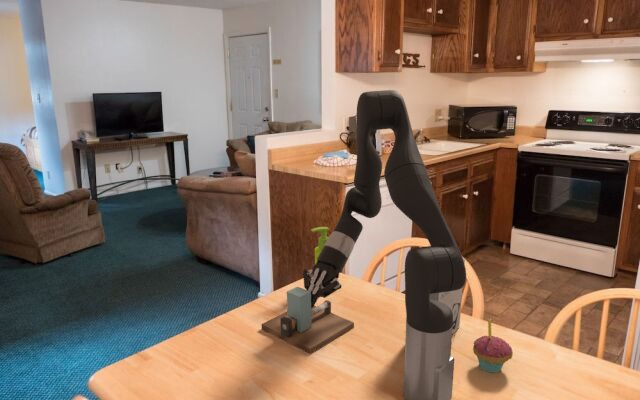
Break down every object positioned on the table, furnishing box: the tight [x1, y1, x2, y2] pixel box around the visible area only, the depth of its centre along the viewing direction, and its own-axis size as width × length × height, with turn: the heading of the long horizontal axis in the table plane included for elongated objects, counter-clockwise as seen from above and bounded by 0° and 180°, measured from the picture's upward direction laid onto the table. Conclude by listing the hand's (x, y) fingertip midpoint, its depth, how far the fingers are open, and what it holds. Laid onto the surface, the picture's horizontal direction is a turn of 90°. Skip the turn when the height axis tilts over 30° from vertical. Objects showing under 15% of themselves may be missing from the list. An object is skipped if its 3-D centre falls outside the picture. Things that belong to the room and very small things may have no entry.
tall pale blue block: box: [286, 286, 312, 333], centre depth 127 cm, size 5×4×10 cm
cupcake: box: [472, 315, 513, 374], centre depth 111 cm, size 9×8×12 cm
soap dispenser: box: [310, 226, 330, 265], centre depth 152 cm, size 6×7×20 cm
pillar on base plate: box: [261, 299, 355, 355], centre depth 130 cm, size 18×17×6 cm
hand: (306, 307), depth 129 cm, fingers closed
